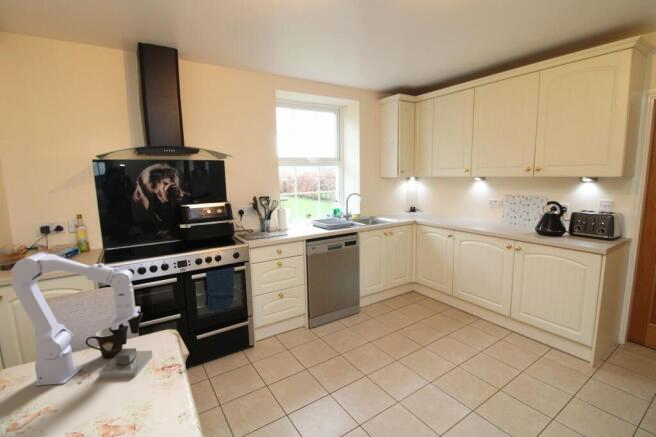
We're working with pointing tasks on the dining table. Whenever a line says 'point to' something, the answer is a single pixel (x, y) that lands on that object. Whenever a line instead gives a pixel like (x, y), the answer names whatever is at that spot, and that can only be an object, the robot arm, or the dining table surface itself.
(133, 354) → the plug
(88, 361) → the dining table surface
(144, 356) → the socket
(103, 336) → the coffee mug
